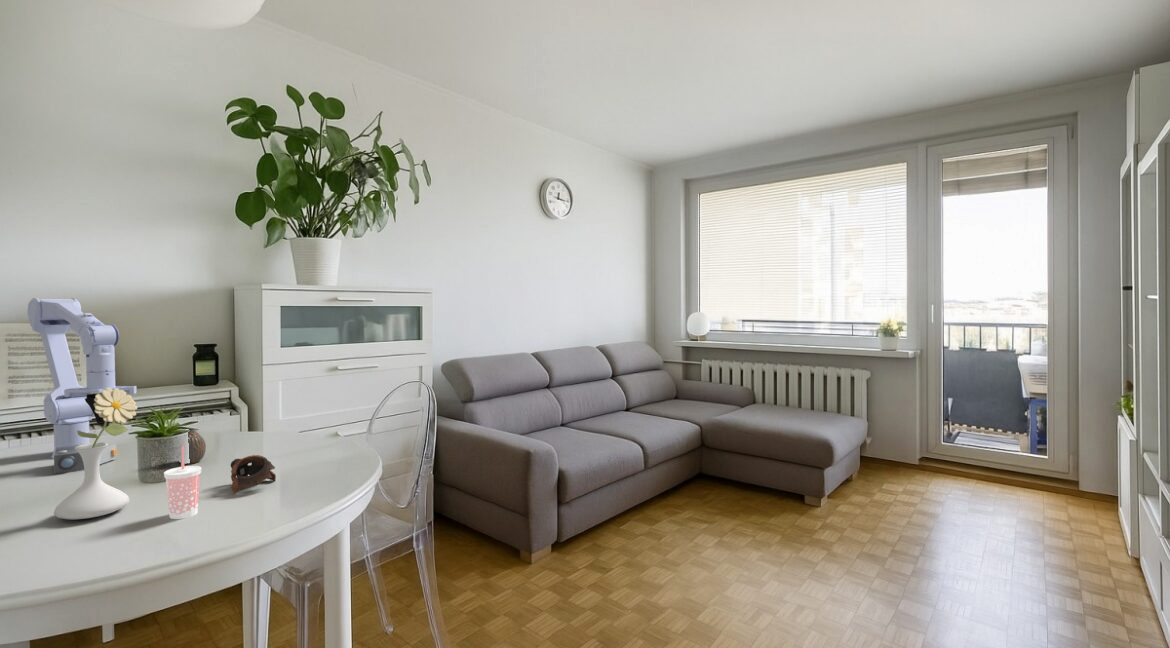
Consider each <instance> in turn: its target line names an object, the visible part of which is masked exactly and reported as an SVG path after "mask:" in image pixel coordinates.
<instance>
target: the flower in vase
mask: <svg viewBox="0 0 1170 648" xmlns="http://www.w3.org/2000/svg"><path fill="white" fill-rule="evenodd" d="M101 393H102V394H103V395H102V394H97V395H96V396H95V399H94V401H95V402H96V403H94V406H95V413H97V414H99V416H100V417H103V420H104V421H105V423H103V427H102V428H101V430H100V432H99V433H98V434H96V433H90V432H89V433H85V432H81V431H79V430H78V431H77V432H78V435H79V436H81V437H86V438H90V439H95V440H94V442H92V443H91V442H90V444H84V445H79V446H76V447H75V450H77V451H78V452H79V454H80V455H81V457H82V460H83V463H84V470H83V471H84V478H83V481H82V484H81V485H80V486H79V487H78V488H77V489H76V490H75V491H73V492H72V493H71V494H69V495H68V496H67V497H65V498H64V499H63V500H62V501H61V502H59V504H58V505H56V507H55V508H54V511H53V514H54V516H55V517H56V518H58V519H62V520H85V519H91V518H97V517H102V516H104V515H108V514H111V513H114V512H116V511H119V510H120V509H122V508H125V507H126V506H127V505H128V504H129V502H130V497H129V496H128V494H127V493H125V492H123V491H122V490H120V489H118V488H115V487H113V486H112V485H109V484H107V483H105V482H104V481H103V480H102V478H101V475H100V474H101V473H100V466H101V464H100V458H101V455H102V452H103V450H104V449H105V447H106V446H109V444H108V443H107V442H98V441H99V439H100V437H101V436H102V434H103V432H104V431H105V432H106V433H107V434H108V435H110V436H113V437H116V436H119V435H122V434H124V433H126V432H127V431H128V430H129V429H128V428H127V427H126V426H124V425H123V424H126V423H127V422H128V419H129V420H132V419H133V417H135V416H137V412H136V411H137V410H138V406H137V403H136V401H135V400H134V399H133V396H132V395H131V394H126V392H124V391H123V390H119V389H118V388H115V389H114V390H112V389H110V388H107V389H106V390H103V391H102V392H101ZM108 422H109V423H111V424H109V425H108V426H107V423H108Z"/></svg>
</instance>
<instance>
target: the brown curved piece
mask: <svg viewBox="0 0 1170 648" xmlns="http://www.w3.org/2000/svg"><path fill="white" fill-rule="evenodd" d="M249 464H250V465H249ZM230 468H231V469H230V470H231V471H230V473H231V474H230V479H231V481H232V482H231V487H230V488H231V490H232V492H234V493H235V494H238V492H240V491H241V490H244V489H248V488H252V487H256V486H257V485H258V484H261V483H263V482H264V481H265V480H270V481H272V482H273V481H275V482H276V480H277V479H276V478H277V477H276V476H277V475H276V474H275V473H274V472H273V471H272V470H274V469H276V467H275V466H274V465H273V464H272V461H269V460H268V458H267V457H264V456H263V455H258V454H257V455H256V454H253V455H247V456H245V457H243V458H235V459H233V460H232V461H231V463H230Z"/></svg>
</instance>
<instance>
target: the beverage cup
mask: <svg viewBox="0 0 1170 648" xmlns="http://www.w3.org/2000/svg"><path fill="white" fill-rule="evenodd" d="M180 464H181V465H180V466H179V467H173V468H171V469H170V468H169V469H167V470H166V471H165V470H164V472H163V475H164V476H163V478H165V484H166V493H167V494H166V495H167V502H168V504H167V505H168V515H169V518H170V519H173V520H180V519H188V518H190V517H194V516H196V515H197V514H198V511H199V498H200V497H199V493H200V492H199V491H200V479H201V478H200V477H201V473H202V467H201V466H199V465H186V466H185V464H184V445H181V463H180Z"/></svg>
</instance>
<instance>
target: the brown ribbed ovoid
mask: <svg viewBox="0 0 1170 648" xmlns="http://www.w3.org/2000/svg"><path fill="white" fill-rule="evenodd" d="M188 429H189V430H190V431H189V432H188V443H189V459H190V464H189V465H193V464H196V463H199V462H201V460H203V458H204V456H205V454H206V451H207V450H206V449H207V448H206V447H207V445H206V441H205V439H204V437H202V435H200V434H199V433H198V432H197V429H196V428H188Z"/></svg>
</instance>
